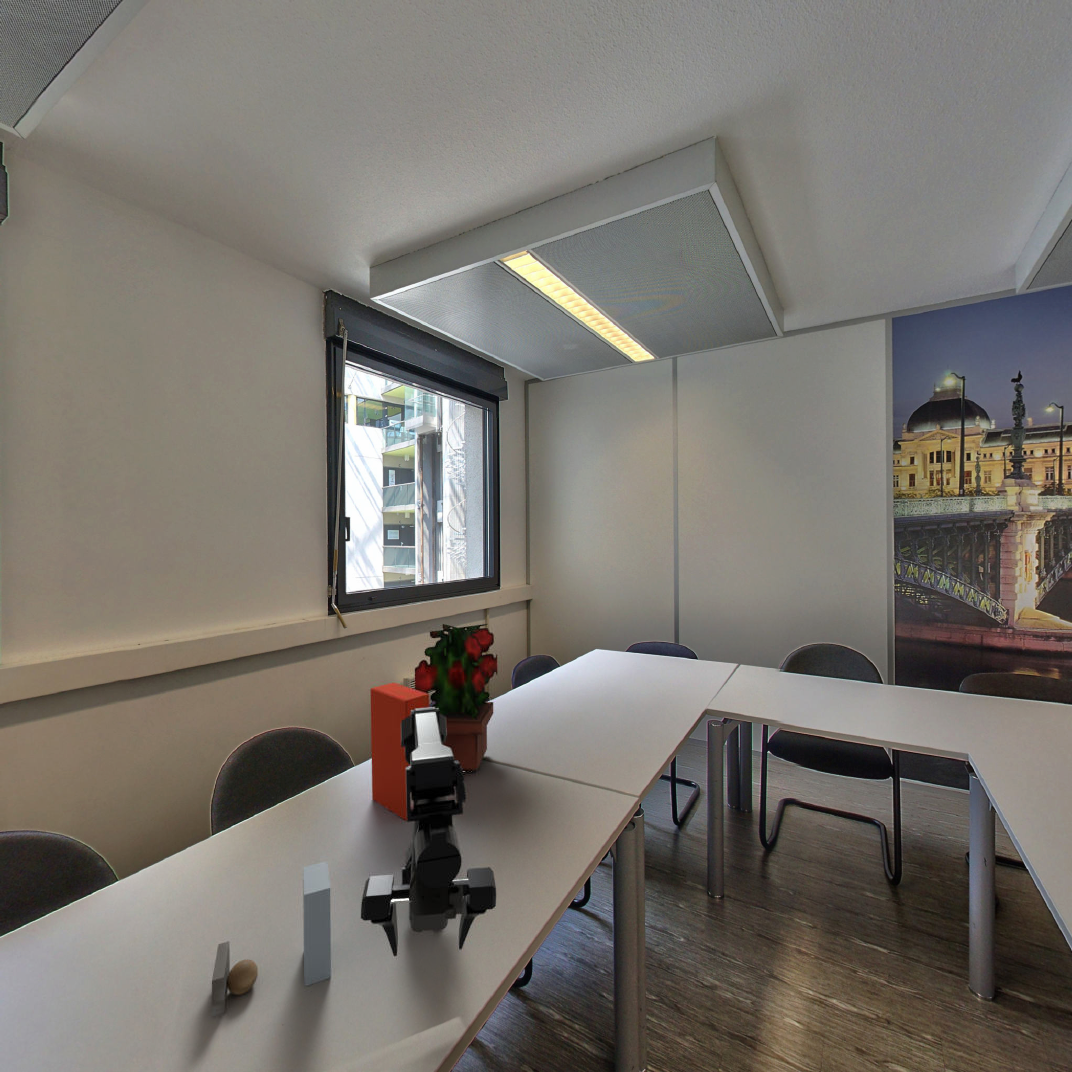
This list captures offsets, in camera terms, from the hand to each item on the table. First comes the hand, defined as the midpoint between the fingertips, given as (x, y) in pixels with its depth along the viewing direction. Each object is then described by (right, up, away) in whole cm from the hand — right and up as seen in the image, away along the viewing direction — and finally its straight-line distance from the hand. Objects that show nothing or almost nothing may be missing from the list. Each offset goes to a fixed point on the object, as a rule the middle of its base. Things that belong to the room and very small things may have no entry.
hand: (428, 950), depth 76 cm
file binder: (-22, -15, +70) cm, 75 cm away
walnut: (-32, -14, +9) cm, 36 cm away
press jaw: (-22, -14, +14) cm, 29 cm away
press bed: (-27, -15, +12) cm, 33 cm away
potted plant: (-10, -15, +97) cm, 98 cm away
